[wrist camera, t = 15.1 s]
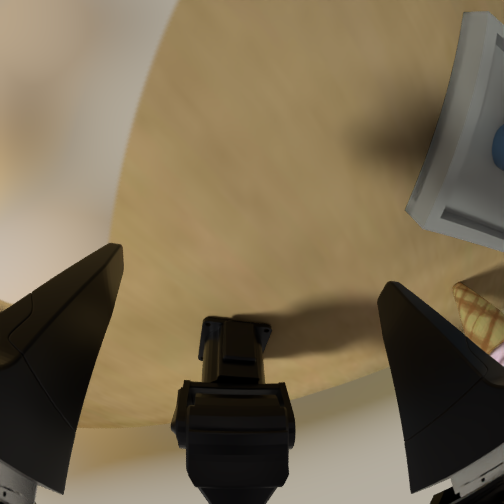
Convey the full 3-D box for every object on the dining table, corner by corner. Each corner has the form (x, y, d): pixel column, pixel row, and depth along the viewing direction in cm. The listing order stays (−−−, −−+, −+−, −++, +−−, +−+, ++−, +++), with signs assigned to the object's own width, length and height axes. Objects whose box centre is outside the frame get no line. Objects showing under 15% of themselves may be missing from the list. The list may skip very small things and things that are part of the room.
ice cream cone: (476, 293, 29) (535, 389, 16) (436, 318, 30) (488, 423, 18) (475, 256, 25) (553, 362, 13) (431, 284, 27) (499, 405, 14)
